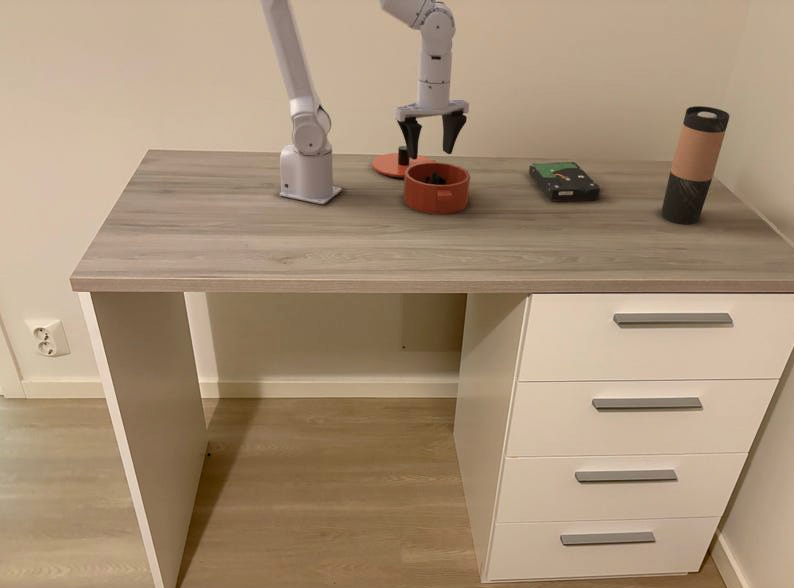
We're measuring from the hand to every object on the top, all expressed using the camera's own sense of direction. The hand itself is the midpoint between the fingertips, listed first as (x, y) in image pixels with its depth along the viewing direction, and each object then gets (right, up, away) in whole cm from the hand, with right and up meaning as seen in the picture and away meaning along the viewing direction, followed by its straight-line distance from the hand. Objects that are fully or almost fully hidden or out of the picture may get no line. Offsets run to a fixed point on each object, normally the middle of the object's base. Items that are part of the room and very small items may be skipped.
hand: (430, 155), depth 135 cm
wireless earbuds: (+1, -7, +4) cm, 9 cm away
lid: (-6, +3, +17) cm, 19 cm away
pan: (+1, -8, +5) cm, 9 cm away
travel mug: (+48, -11, +5) cm, 50 cm away
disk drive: (+27, -3, +14) cm, 31 cm away
